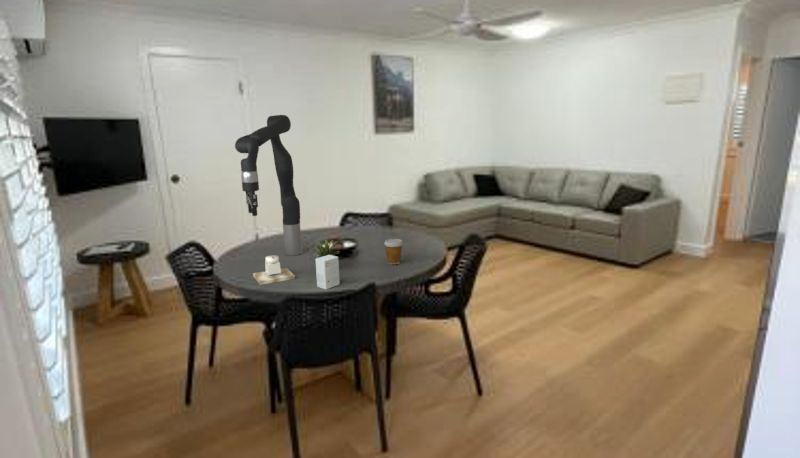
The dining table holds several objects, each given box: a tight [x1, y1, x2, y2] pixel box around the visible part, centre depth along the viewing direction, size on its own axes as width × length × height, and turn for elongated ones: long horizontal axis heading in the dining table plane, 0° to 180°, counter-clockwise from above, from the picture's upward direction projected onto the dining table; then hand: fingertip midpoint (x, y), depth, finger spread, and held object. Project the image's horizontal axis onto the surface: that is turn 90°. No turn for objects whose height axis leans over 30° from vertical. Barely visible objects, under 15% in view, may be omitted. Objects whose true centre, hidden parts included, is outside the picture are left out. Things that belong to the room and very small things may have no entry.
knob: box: [264, 254, 282, 275], centre depth 208 cm, size 6×6×8 cm
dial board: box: [252, 267, 296, 286], centre depth 209 cm, size 16×14×8 cm
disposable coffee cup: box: [383, 238, 404, 263], centre depth 228 cm, size 10×10×12 cm
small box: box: [315, 254, 340, 290], centre depth 196 cm, size 8×6×13 cm
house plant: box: [315, 238, 341, 258], centre depth 214 cm, size 14×14×16 cm
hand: (252, 214), depth 215 cm, fingers open, 8 cm apart
